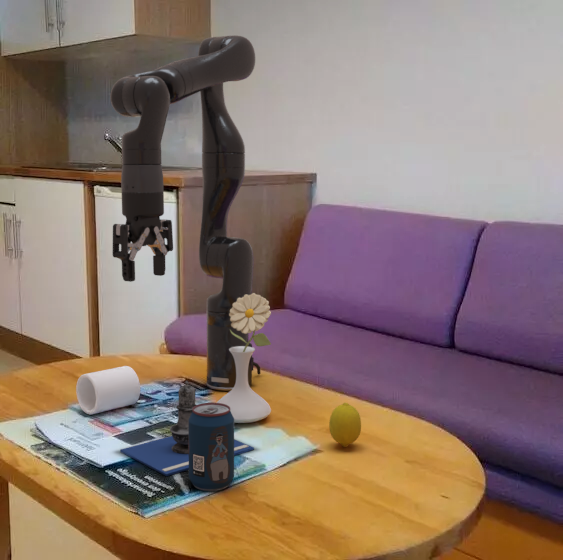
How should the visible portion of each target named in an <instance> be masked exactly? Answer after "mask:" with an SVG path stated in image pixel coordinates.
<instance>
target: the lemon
mask: <svg viewBox="0 0 563 560" xmlns="http://www.w3.org/2000/svg"><path fill="white" fill-rule="evenodd" d="M328 428H329V434H330V436H331V438H332V439H333V440H334V441H335V442H336V443H338V444H340V445H341V447H343V448H347V447H348V446H349V445H351V444H353V443H355V442H356V441H357V440H358V438H359V437H360V435H361V431H362V419H361V415H360V412H359V411H358V410H357V409H356V407H354V406H353V405H351V404H350V403H348V402H343V403H342V404H339V405H338V406H336V407H334V409H333V410H332V412H331V415H330V417H329V425H328Z"/></svg>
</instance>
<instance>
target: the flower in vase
mask: <svg viewBox="0 0 563 560" xmlns="http://www.w3.org/2000/svg"><path fill="white" fill-rule="evenodd" d="M269 304H270V301H269V300H267V299H266V298H265V297H263V296H261V294H256V293H255V292H252V294H251V295H249V296H248V295H247V294H246V295H244V297H242V298H238V299H237V301H236V303H233V307H232V309H230V313H229V316H230V317H231V318H230V321H232V323H231V326H232V327H233V328H234V329H236V330H237V331H240V330H241V332H242V333H244V334H247V333H248V334H251V333H252V335H251V337H250V338H249V339H248V343H247V342H246V341H245V340H244V339H243V338H242V337H240V336H238V335H236V334H234V333H233V332H232V331H231V330H230V331H231V333H232V334H233V335H234V336H235V337H237V338H239V339H241V340H242V341H244V342H246V343H247V344H246V346H236V347H231V348H230V349H229V351H230V352H231V353H232V355H233V357H234V360H235V365H236V383H235V386H234V388H233V389H232V390H231V391H228V392H227V393H225V394H224V395H223V396H222V397H221V398H220V399H218V400H217V401H216V403H222V404H226V405H228V406H229V407H230V411H231V413H232V415H233V417H234V424H236V423H238V424H248V423H254V422H258V421H261V420H263V419H266V418H268V417H269V415H270V414H271V412H272V408H271V405H270V404H269V403H268V402H267V401H266V400H265V398H263V397H262V396H261V395H259V394H258V393H257V392H255V391H254V390H253V389H252V388H251V385H250V386H249V384H248V366H249V361H250V358H251V355H252V356H253V354H254V352H255V351H256V348H255V347H253V346H252V347H248V344H249V343H251V342H252V340H253V342H254V344H255V346H256V347H266V346H271V345H272V343H271V342H270V339H269V338H268V336H267V335H266V334H265V333H263V332H259V333H256V332H258V331H259V330H262V329H263V327H265V323H267V322H268V321H269V318H270V316H271V315H272V311H271V310H270V309H271V306H270V305H269ZM255 333H256V334H255Z"/></svg>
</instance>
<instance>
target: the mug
mask: <svg viewBox="0 0 563 560" xmlns="http://www.w3.org/2000/svg"><path fill="white" fill-rule="evenodd" d="M75 394H76V399H77V403H78V404H79V408H80V409H81V410H82V411H83V412H84V413H85V414H87V415H90V416H91V415H96V414H100V413H104V412H108V411H112V410H115V409H120V408H124V407H128V406H131V405H135V404H136V403H137V402H138V401H139V398H140V395H141V383H140V379H139V376H138V374H137V371H135V369H134V368H132V367H131V366H128V365H123V366H118V367H117V366H116V367H113V368H108V369H103V370H98V371H97V370H96V371H93V372H88V373H84V374H81V375H80V376H79V377H78V379H77V382H76V387H75Z"/></svg>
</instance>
